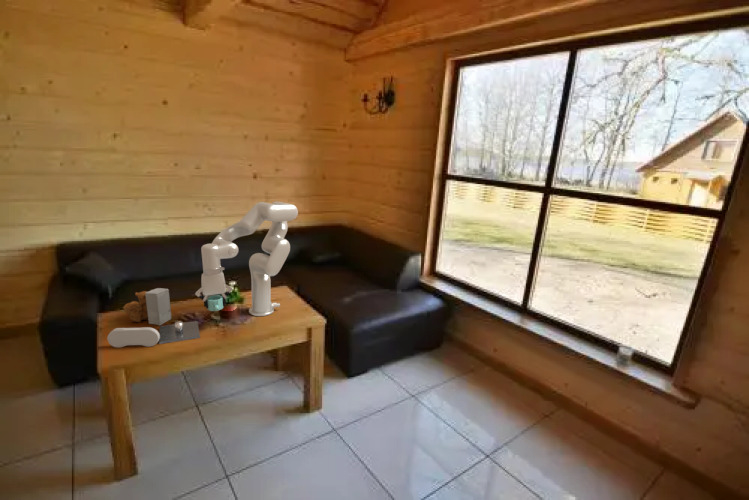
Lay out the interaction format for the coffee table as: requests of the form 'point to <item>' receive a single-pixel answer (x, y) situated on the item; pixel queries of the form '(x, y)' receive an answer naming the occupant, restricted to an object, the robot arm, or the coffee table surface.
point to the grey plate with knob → (179, 332)
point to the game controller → (133, 337)
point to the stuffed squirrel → (137, 308)
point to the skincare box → (158, 306)
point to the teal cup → (215, 302)
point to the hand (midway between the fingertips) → (215, 306)
